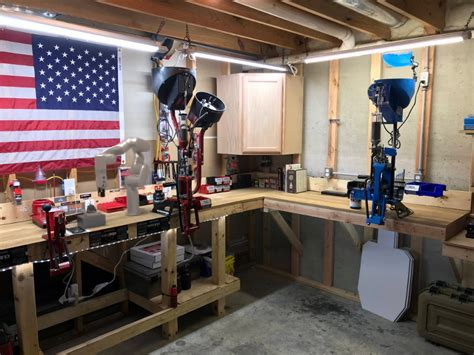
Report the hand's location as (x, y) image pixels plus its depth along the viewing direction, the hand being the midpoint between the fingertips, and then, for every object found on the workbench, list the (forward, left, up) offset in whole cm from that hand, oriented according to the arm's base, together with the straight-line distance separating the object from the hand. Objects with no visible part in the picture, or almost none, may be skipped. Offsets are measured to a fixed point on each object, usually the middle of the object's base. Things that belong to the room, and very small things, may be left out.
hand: (101, 196), depth 277 cm
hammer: (+12, -19, -21) cm, 31 cm away
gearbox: (+9, 0, -20) cm, 22 cm away
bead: (0, 0, 0) cm, 0 cm away
